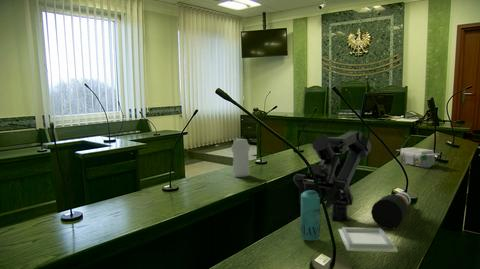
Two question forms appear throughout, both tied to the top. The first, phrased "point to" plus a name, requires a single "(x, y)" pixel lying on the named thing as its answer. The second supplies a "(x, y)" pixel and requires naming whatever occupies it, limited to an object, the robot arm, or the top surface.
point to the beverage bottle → (310, 212)
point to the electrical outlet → (417, 156)
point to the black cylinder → (391, 210)
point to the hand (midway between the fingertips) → (312, 206)
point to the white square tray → (366, 239)
